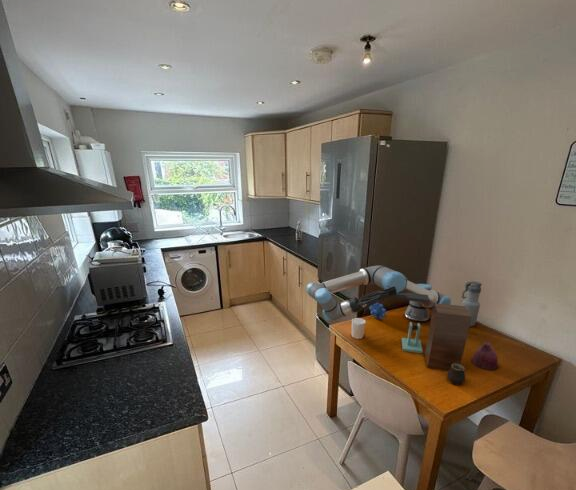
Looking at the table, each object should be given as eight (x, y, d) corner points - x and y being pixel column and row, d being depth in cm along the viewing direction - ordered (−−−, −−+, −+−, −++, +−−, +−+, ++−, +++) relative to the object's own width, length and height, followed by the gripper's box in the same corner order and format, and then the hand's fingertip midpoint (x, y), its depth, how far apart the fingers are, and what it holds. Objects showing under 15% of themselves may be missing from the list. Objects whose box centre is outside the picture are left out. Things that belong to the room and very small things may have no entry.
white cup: (358, 340, 174) (359, 325, 170) (347, 335, 179) (349, 320, 176) (366, 336, 178) (368, 321, 175) (356, 331, 184) (357, 316, 181)
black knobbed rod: (407, 329, 177) (408, 323, 178) (414, 330, 176) (414, 324, 177) (411, 330, 163) (411, 323, 163) (418, 331, 162) (418, 324, 162)
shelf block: (424, 354, 160) (434, 303, 150) (453, 359, 156) (465, 306, 146) (427, 367, 149) (437, 312, 139) (458, 372, 145) (471, 316, 135)
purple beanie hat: (483, 376, 148) (488, 354, 140) (467, 362, 157) (470, 340, 149) (501, 368, 149) (506, 346, 142) (484, 355, 158) (488, 333, 151)
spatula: (378, 292, 154) (378, 289, 153) (427, 297, 147) (427, 294, 147) (378, 297, 147) (378, 294, 147) (429, 303, 141) (429, 299, 141)
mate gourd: (456, 375, 143) (460, 357, 140) (468, 386, 136) (472, 367, 133) (442, 377, 142) (446, 359, 139) (453, 387, 135) (457, 369, 132)
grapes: (365, 318, 201) (367, 302, 197) (369, 315, 206) (371, 298, 202) (382, 323, 195) (384, 306, 190) (386, 319, 200) (388, 303, 195)
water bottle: (454, 321, 197) (462, 281, 188) (464, 318, 201) (473, 279, 191) (468, 328, 189) (478, 286, 179) (478, 325, 192) (488, 283, 183)
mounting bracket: (401, 339, 175) (404, 318, 170) (420, 342, 172) (423, 320, 167) (402, 350, 164) (406, 328, 159) (422, 353, 161) (426, 330, 156)
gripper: (355, 306, 164) (398, 291, 155) (353, 318, 150) (399, 302, 141) (350, 294, 163) (392, 278, 153) (346, 305, 149) (393, 288, 140)
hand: (395, 289), depth 147 cm, fingers closed on spatula, 2 cm apart
